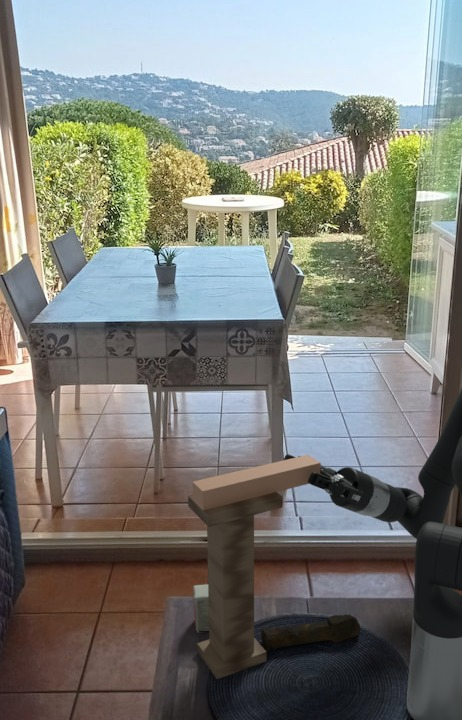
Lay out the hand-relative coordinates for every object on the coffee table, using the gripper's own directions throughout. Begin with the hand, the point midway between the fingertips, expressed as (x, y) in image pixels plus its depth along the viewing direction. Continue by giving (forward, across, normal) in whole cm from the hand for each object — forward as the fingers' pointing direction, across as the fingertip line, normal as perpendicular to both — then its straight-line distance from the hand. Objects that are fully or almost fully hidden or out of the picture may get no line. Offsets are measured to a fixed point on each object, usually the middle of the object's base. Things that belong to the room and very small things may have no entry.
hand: (297, 468), depth 129 cm
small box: (-6, -10, +37) cm, 39 cm away
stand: (-6, 0, +36) cm, 37 cm away
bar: (+6, 0, +6) cm, 8 cm away
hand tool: (-19, +3, +29) cm, 35 cm away
